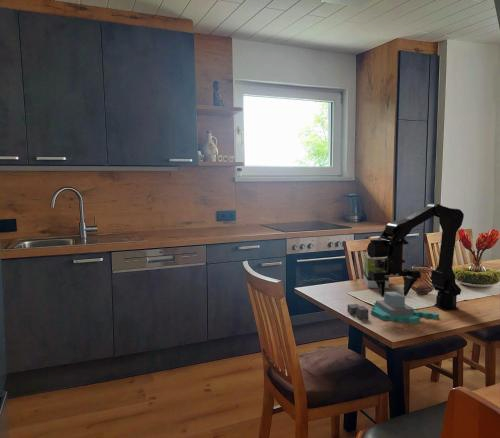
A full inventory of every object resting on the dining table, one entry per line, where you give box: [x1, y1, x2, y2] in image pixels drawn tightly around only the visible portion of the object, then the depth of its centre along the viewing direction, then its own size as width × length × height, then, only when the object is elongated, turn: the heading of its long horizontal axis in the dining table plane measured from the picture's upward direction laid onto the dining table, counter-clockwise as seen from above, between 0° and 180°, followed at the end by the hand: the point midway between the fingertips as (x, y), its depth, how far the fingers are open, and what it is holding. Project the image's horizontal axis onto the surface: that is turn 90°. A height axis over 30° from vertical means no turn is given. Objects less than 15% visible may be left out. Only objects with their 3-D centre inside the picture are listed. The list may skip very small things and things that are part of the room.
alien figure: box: [370, 302, 440, 325], centre depth 151 cm, size 20×2×20 cm
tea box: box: [363, 251, 390, 289], centre depth 192 cm, size 15×10×15 cm, turn 172°
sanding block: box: [375, 291, 415, 316], centre depth 150 cm, size 9×12×6 cm
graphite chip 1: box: [347, 303, 360, 316], centre depth 152 cm, size 4×4×3 cm
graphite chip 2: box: [355, 305, 369, 321], centre depth 146 cm, size 4×4×3 cm
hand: (393, 296), depth 150 cm, fingers open, 9 cm apart
